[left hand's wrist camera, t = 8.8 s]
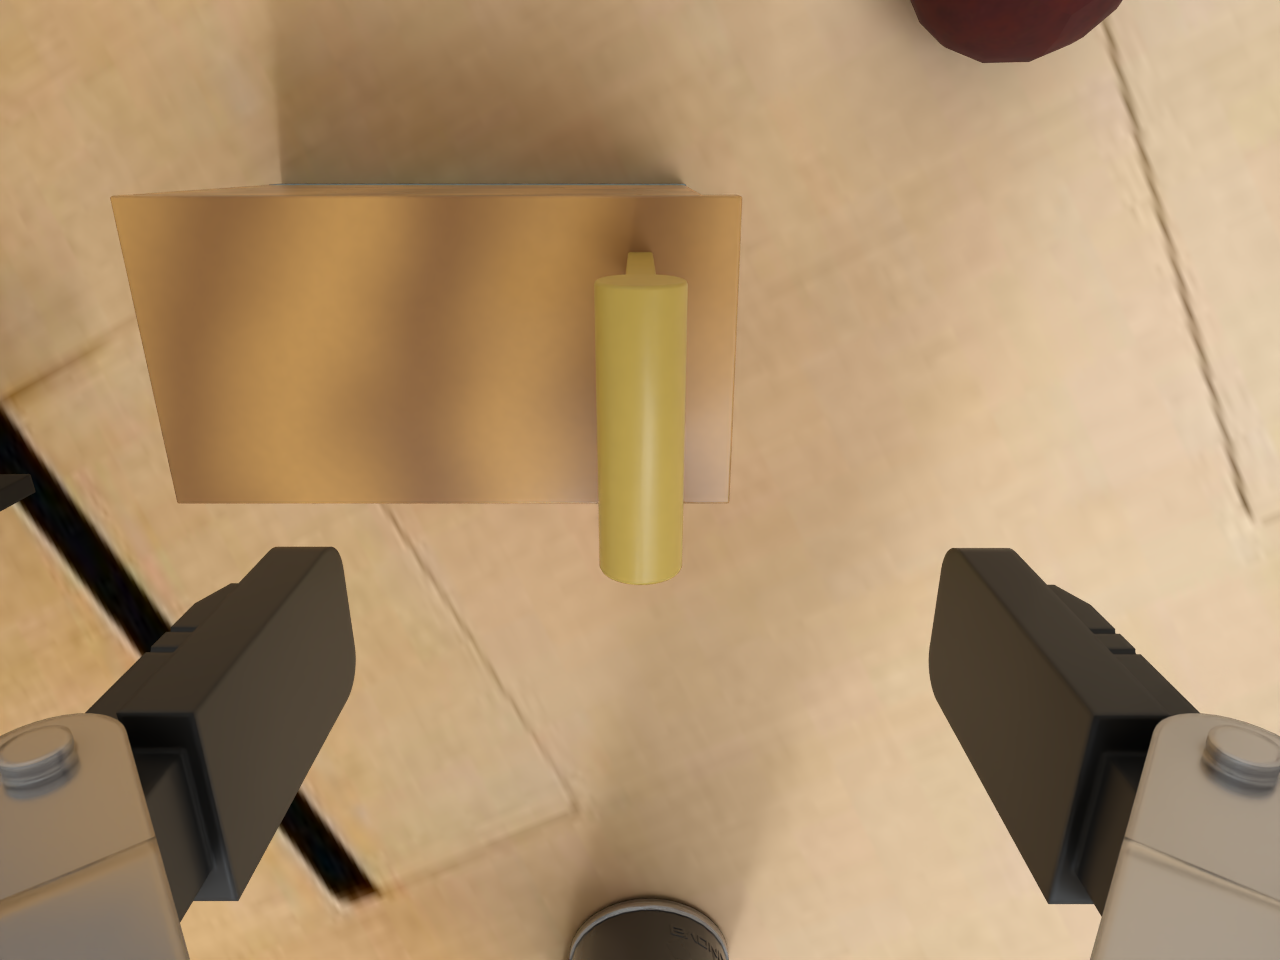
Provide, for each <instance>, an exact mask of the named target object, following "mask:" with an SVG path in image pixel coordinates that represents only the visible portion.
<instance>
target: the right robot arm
mask: <svg viewBox="0 0 1280 960" xmlns="http://www.w3.org/2000/svg"><path fill="white" fill-rule="evenodd" d="M33 493H35V489H34V485H33V482H32V479H31V475H30V474H8V475H0V511H2V510H4V509H6V508H7V507H9V506H11V505H13V504H15V503H16V502H18V501H20V500H22V499H24V498H26V497H27V496H29V495H31V494H33Z"/></svg>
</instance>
